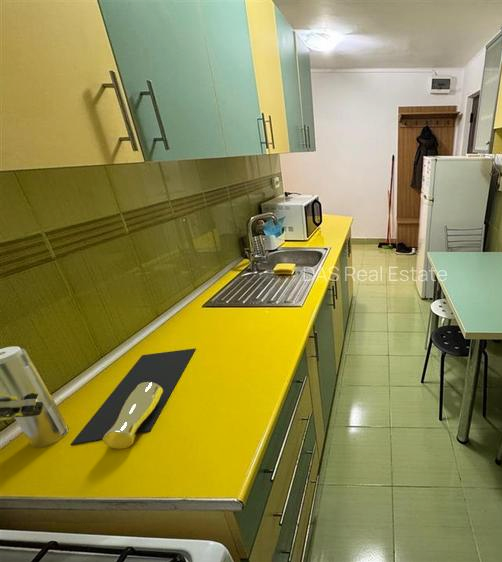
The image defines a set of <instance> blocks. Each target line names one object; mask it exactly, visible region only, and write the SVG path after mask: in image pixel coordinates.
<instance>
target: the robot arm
mask: <svg viewBox="0 0 502 562" xmlns="http://www.w3.org/2000/svg"><path fill="white" fill-rule="evenodd" d="M37 396H38V394H35V393H30V394H27V395H26V396H22V398H21V400H19V399H18V398H17V396H8V395H3V394H2V393H0V421H6V420H11V419H13V418H14V417H15V418H16V417H31V416H37V415H40V414H41V412H42V408H43V403H42V402H36V401H37ZM15 418H14V419H15Z"/></svg>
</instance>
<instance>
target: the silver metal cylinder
mask: <svg viewBox="0 0 502 562" xmlns="http://www.w3.org/2000/svg"><path fill="white" fill-rule="evenodd" d="M0 393H2V394H3V395H8V396H17V398H18V399H19V400H21V398H22V396H26V395H27V394H30V393H35V394H38V396H37V401H36V402H42V403H43V408H42V412H41V414H40V415H37V416H31V417H16V418H15V417H13V418H14V419H15V421H16V423H17V424H18V426H19V428H20V429H21V431H22V432H23V434H24V435H25V437H26V438H27V440H28V442H29V443H30V444H31V446H32V447H33V448H35V449H42V448H46V447H48V446H51V445H53V444H55V443H57V442H59V441H60V440H61V439H63V438H64V437H65V436H66V435H67V434H68V433H69V430H70V427H69V426H68V424H67V421H66V420H65V418H64V416H63V414H62V413H61V411H60V409H59V407H58V405H57V404H56V402H55V400H54V398H53V396H52V395H51V393H50V391H49V390H48V387H47V385H46V384H45V382H44V380H43V378H42V377H41V375H40V373H39V371H38V370H37V368H36V366H35V364H34V362H33V360H32V359H31V357H30V355H29V353H28V352H27V350H26V349H25V348H23V347H20V346H7V347H3V348H0Z"/></svg>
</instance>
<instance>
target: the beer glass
mask: <svg viewBox="0 0 502 562" xmlns="http://www.w3.org/2000/svg"><path fill="white" fill-rule="evenodd" d="M162 394H163V389H162V388H161V387H160V386H159V385H158V384H156V383H152V382H143V383H140V384H139V385H138V386H137V387H136V388H135V389H134V391H133V392H132V393H131V394H130V395H129V397H128V398H127V400H126V401H125V403H124V405H123V407H122V409H121V411H120V413H119V416H118V418H117V420H116V422H115V424H114V425H113V426H112V427H111V428H110V430H109V431H108V432H107V433H106V434H105V435H104V436H103V440H102V443H104V445H105V446H107V447H109V448H111V449H118V450H122V449H127V448H129V447H131V446H132V445H133V444H134V442H135V439H136V437H137V435H138V434H137V432H138V430H139V428H140V427H141V426H142V425H143V423H144V422H145V421H146V420H147V419H148V418H149V416H150V415H151V414H152V412H153V411H154V410H155V408H156V406H157V404H158V402H159V400H160V398H161V396H162Z"/></svg>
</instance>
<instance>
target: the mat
mask: <svg viewBox="0 0 502 562" xmlns="http://www.w3.org/2000/svg"><path fill="white" fill-rule="evenodd" d="M196 350H197V348H196V347H195V348H188V349H180V350H171V351H164V352H156V353H155V352H154V353H148V354H142V355H141V356H140V357H139V359H137V361H136V362H135V363H134V365H132V367H131V368H130V370H129V371H128V372H127V373H126V375H125V376H124V377H123V378H122V379H121V381H120V382H119V383H118V384H117V386H116V387H115V388H114V389H113V391H111V393H110V394H109V395H108V397H107V398H106V399H105V400H104V402H103V403H102V404H101V406H100V407H99V408H98V409H97V411H96V412H95V413H94V414H93V415H92V416H91V418H90V419H89V420H88V422H87V423H86V424H85V425H84V426H83V428H82V429H81V430H80V431H79V433H78V434H77V435H76V436H75V438H74V439H73V440H72V441H71V442H70V446H75V445H80V444H86V443H93V442H98V441H103V436H104V435H105V434H106V433H107V432H108V431H109V430H110V428H111V427H112V426H113V425H114V424H115V422H116V420H117V418H118V416H119V413H120V411H121V409H122V407H123V405H124V403H125V401H126V400H127V398H128V397H129V395H130V394H131V393H132V392H133V391H134V389H135V388H136V387H137V386H138V385H139V384H140V383H143V382H152V383H156V384H158V385H159V386H160V387H161V388H162V389H163V394H162V396H161V398H160V400H159V402H158V404H157V406H156V408H155V410H154V411H153V412H152V414H151V415H150V416H149V418H148V419H147V420H146V421H145V422H144V423H143V425H142V426H141V427H140V428H139V430H138V432H137V434H136V435H139V434H144V433H151V431H152V429H153V428H154V426H155V424H156V422H157V421H158V418H159V417H160V415H161V413H162V411H163V409H164V408H165V406H166V404H167V402H168V401H169V399H170V397H171V395H172V393H173V391H174V389H175V388H176V386H177V384H178V382H179V380H180V379H181V377H182V376H183V373H184V372H185V369H186V368H187V366H188V365H189V363H190V361H191V359H192V357H193V355H194V353H195V352H196Z"/></svg>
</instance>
